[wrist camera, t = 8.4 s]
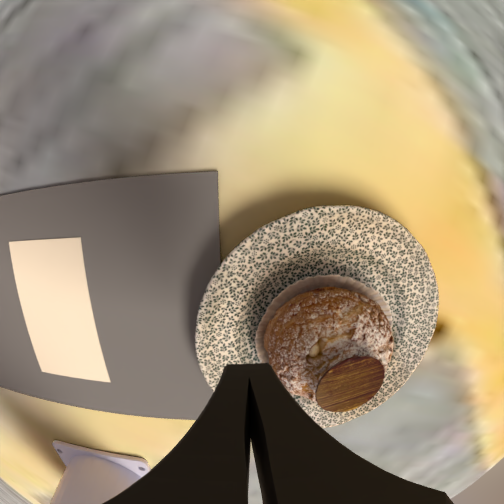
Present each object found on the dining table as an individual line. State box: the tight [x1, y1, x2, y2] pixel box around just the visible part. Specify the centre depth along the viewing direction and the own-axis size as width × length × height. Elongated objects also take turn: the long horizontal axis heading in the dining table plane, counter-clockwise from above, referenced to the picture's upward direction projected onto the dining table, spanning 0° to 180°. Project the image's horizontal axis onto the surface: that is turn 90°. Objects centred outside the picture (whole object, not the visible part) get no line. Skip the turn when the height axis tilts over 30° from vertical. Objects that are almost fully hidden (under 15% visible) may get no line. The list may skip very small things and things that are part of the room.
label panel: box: [0, 171, 221, 420], centre depth 13 cm, size 13×26×1 cm, turn 91°
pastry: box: [195, 205, 439, 428], centre depth 12 cm, size 12×12×5 cm
